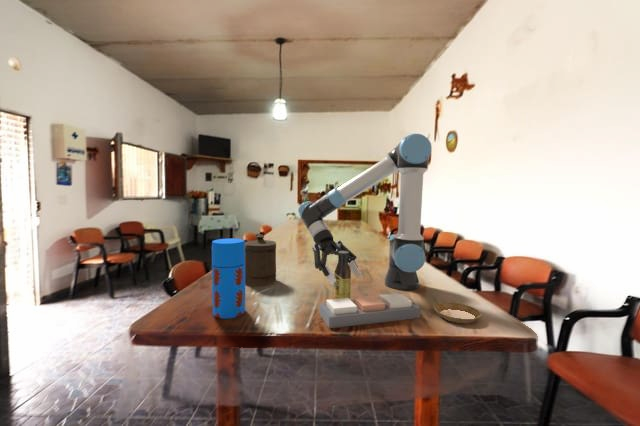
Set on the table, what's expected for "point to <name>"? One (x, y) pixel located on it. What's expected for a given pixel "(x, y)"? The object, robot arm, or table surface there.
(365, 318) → the key pad
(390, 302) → the key
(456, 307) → the tan shallow bowl
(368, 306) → the key mid
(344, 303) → the key
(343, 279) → the sauce bottle
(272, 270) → the wooden container
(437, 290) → the table surface
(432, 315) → the table surface
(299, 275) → the table surface
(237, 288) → the thermos
